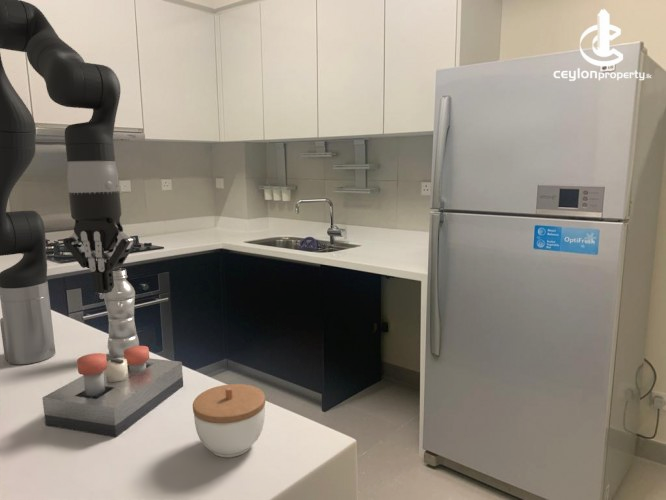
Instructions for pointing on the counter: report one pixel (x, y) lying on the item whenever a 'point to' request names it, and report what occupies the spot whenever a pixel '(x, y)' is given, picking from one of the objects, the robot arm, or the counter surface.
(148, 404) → the panel
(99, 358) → the knob outer
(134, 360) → the knob inner
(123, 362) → the dial
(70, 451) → the counter surface
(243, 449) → the lidded jar
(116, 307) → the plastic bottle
